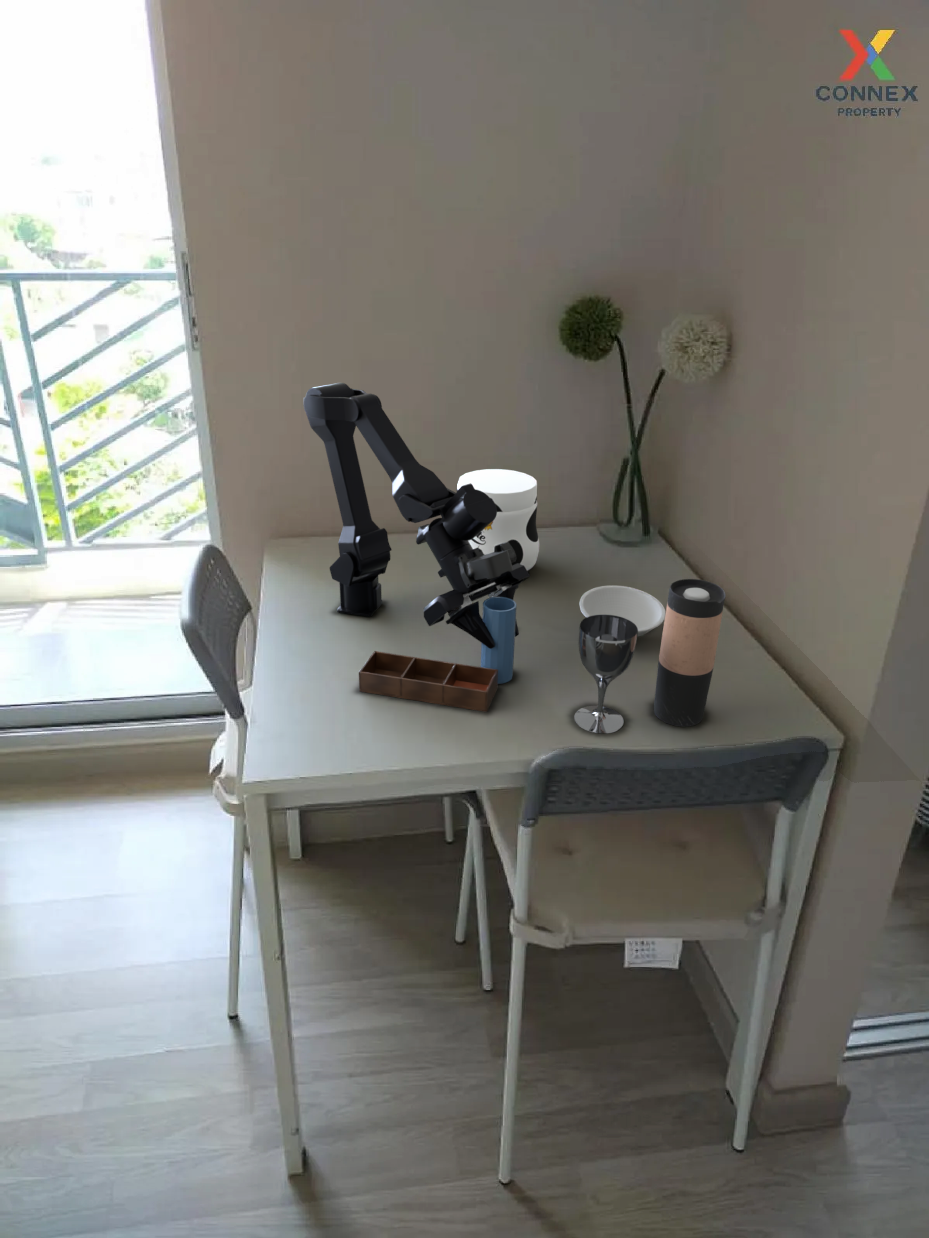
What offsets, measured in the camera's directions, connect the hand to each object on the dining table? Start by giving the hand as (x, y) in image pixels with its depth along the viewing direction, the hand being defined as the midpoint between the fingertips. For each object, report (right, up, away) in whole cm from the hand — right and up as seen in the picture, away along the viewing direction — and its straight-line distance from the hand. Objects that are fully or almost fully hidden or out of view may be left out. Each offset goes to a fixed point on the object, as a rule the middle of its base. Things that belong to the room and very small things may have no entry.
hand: (504, 641), depth 133 cm
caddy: (-12, -7, 0) cm, 14 cm away
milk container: (0, +14, +42) cm, 44 cm away
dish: (+21, +1, +18) cm, 27 cm away
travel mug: (+25, -11, -5) cm, 28 cm away
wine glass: (+13, -11, -7) cm, 19 cm away
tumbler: (-1, -5, +4) cm, 7 cm away
